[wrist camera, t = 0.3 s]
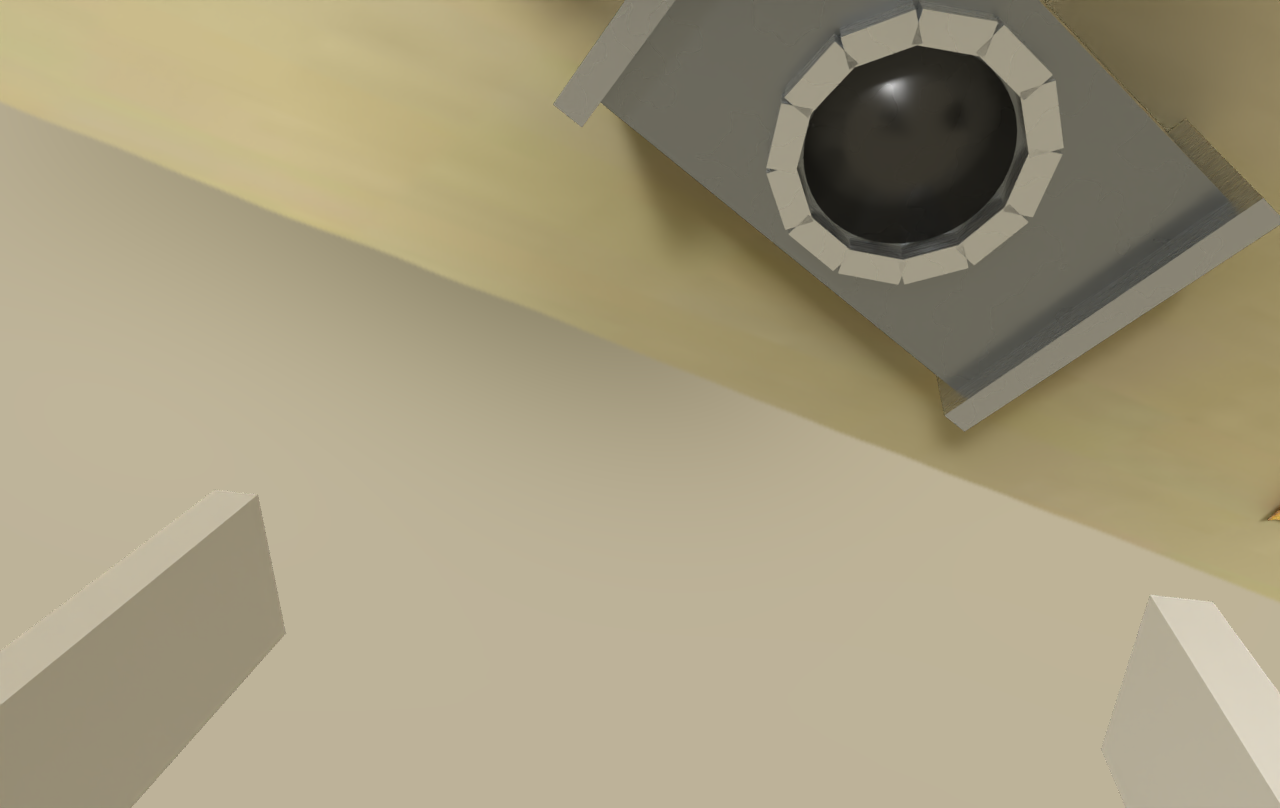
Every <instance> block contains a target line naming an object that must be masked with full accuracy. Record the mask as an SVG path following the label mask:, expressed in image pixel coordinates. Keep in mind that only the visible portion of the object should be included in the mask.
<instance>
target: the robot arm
mask: <svg viewBox="0 0 1280 808" xmlns="http://www.w3.org/2000/svg"><path fill="white" fill-rule="evenodd" d="M285 633H286V632H285V627H284V622H283V617H282V612H281V607H280V602H279V597H278V592H277V588H276V582H275V577H274V573H273V567H272V562H271V557H270V553H269V548H268V542H267V537H266V532H265V528H264V523H263V518H262V513H261V508H260V503H259V498H258V495H257V494H249V493H240V492H231V491H222V490H214V491H212V492H211V493H210V494H208V495H207V496H206V497H204V498H203V499H202V500H200V501H199V502H198V503H196V504H195V505H194V506H193V507H191V508H190V509H188V510H187V511H186V512H184V513H183V514H182V515H180V516H179V517H178V518H176V519H175V520H174V521H172V522H171V523H170V524H168V525H167V526H166V527H164V528H163V529H162V530H160V531H159V532H158V533H156V534H155V535H154V536H152V537H151V538H150V539H148V540H147V541H146V542H144V543H143V544H142V545H140V546H139V547H138V548H136V549H135V550H134V551H132V552H131V553H130V554H129V555H127V556H126V557H124V558H123V559H122V560H121V561H119V562H118V563H116V564H115V565H114V566H112V567H111V568H110V569H108V570H107V571H106V572H104V573H103V574H102V575H100V576H99V577H98V578H97V579H95V580H94V581H92V582H91V583H90V584H89V585H87V586H86V587H84V588H83V589H82V590H80V591H79V592H78V593H76V594H75V595H74V596H72V597H71V598H70V599H68V600H67V601H66V602H64V603H63V604H62V605H60V606H59V607H58V608H56V609H55V610H54V611H52V612H51V613H50V614H48V615H47V616H46V617H44V618H43V619H42V620H40V621H39V622H38V623H36V624H35V625H34V626H32V627H31V628H30V629H28V630H27V631H26V632H25V633H23V634H22V635H20V636H19V637H18V638H16V639H15V640H14V641H12V642H11V643H10V644H8V645H7V646H6V647H4V648H3V649H2V650H0V808H131V807H132V806H133V805H134V804H135V803H136V802H137V801H138V800H139V798H140V797H141V796H142V795H143V794H144V793H145V792H146V790H147V789H148V788H149V787H150V786H151V785H152V784H153V783H154V781H155V780H156V779H157V778H158V777H159V776H160V774H162V772H163V771H164V770H165V769H166V768H167V767H168V765H170V763H171V762H172V761H173V760H174V759H175V758H176V757H177V756H178V754H179V753H180V752H181V751H182V750H183V749H184V747H186V745H187V744H188V743H189V742H190V741H191V740H192V739H193V737H194V736H195V735H196V734H197V733H198V732H199V731H200V730H201V728H202V727H203V726H204V725H205V724H206V723H207V722H208V720H209V719H210V718H211V717H212V716H213V715H214V713H216V712H217V710H218V709H219V708H220V707H221V706H222V705H223V704H224V703H225V701H226V700H227V699H228V698H229V697H230V696H231V695H232V693H233V692H234V691H235V690H236V689H237V688H238V687H239V685H240V684H241V683H242V682H243V681H244V680H245V679H246V677H248V675H249V674H250V673H251V672H252V671H253V670H254V669H255V667H256V666H257V665H258V664H259V663H260V662H261V661H262V660H263V658H264V657H265V656H266V655H267V654H268V653H269V652H270V651H271V650H272V648H273V647H274V646H275V645H276V644H277V643H278V642H279V640H280V639H281V638H282V637H283V636H284V635H285ZM1101 750H1102V752H1103V755H1104V757H1105V760H1106V762H1107V764H1108V767H1109V769H1110V772H1111V774H1112V776H1113V779H1114V781H1115V784H1116V786H1117V788H1118V791H1119V793H1120V796H1121V798H1122V800H1123V803H1124V805H1125V808H1280V693H1279V692H1278V691H1277V689H1276V688H1275V686H1274V685H1273V684H1272V682H1271V681H1270V680H1269V678H1268V677H1267V675H1266V674H1265V673H1264V671H1263V670H1262V669H1261V667H1260V666H1259V664H1258V663H1257V662H1256V660H1255V659H1254V658H1253V656H1252V655H1251V653H1250V652H1249V651H1248V649H1247V648H1246V647H1245V645H1244V644H1243V642H1242V641H1241V640H1240V638H1239V637H1238V636H1237V634H1236V633H1235V631H1234V630H1233V629H1232V627H1231V626H1230V625H1229V623H1228V622H1227V620H1226V619H1225V618H1224V616H1223V615H1222V614H1221V612H1220V611H1219V609H1218V608H1217V607H1216V606H1215V604H1214V603H1213V602H1211V601H1202V600H1193V599H1184V598H1175V597H1166V596H1157V595H1150V596H1149V599H1148V602H1147V606H1146V609H1145V612H1144V615H1143V618H1142V621H1141V625H1140V628H1139V631H1138V634H1137V637H1136V641H1135V644H1134V647H1133V650H1132V653H1131V656H1130V659H1129V662H1128V666H1127V669H1126V672H1125V675H1124V678H1123V681H1122V685H1121V688H1120V691H1119V694H1118V697H1117V700H1116V703H1115V707H1114V710H1113V713H1112V716H1111V719H1110V723H1109V726H1108V729H1107V732H1106V735H1105V738H1104V741H1103V745H1102V748H1101Z"/></svg>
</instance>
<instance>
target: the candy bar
mask: <svg viewBox="0 0 1280 808" xmlns="http://www.w3.org/2000/svg"><path fill="white" fill-rule="evenodd" d="M1274 519H1276V520H1280V510H1279V511H1277V512H1276V513H1274V514H1273V515H1272V516H1271V517H1269V518H1268V521H1269V520H1274Z"/></svg>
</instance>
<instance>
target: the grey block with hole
mask: <svg viewBox="0 0 1280 808" xmlns="http://www.w3.org/2000/svg"><path fill="white" fill-rule="evenodd" d="M600 102H601V103H602V104H603V105H604V106H606V107H607V108H608V109H609V110H611V111H612V112H613V113H614V114H615V115H617V116H618V117H619V118H620V119H622V120H623V121H624V122H625V123H627V124H628V125H629V126H630V127H631V128H633V129H634V130H635V131H636V132H638V133H639V134H640V135H641V136H643V137H644V138H645V139H646V140H647V141H649V142H650V143H651V144H652V145H654V146H655V147H656V148H657V149H659V150H660V151H661V152H662V153H663V154H665V155H666V156H667V157H668V158H670V159H671V160H672V161H673V162H675V163H676V164H677V165H678V166H679V167H681V168H682V169H683V170H684V171H686V172H687V173H688V174H689V175H691V176H692V177H693V178H694V179H695V180H697V181H698V182H699V183H700V184H702V185H703V186H704V187H705V188H707V189H708V190H709V191H710V192H711V193H713V194H714V195H715V196H716V197H718V198H719V199H720V200H721V201H723V202H724V203H725V204H726V205H727V206H729V207H730V208H731V209H732V210H734V211H735V212H736V213H737V214H739V215H740V216H741V217H742V218H743V219H745V220H746V221H747V222H748V223H750V224H751V225H752V226H753V227H755V228H756V229H757V230H758V231H759V232H761V233H762V234H763V235H764V236H766V237H767V238H768V239H769V240H771V241H772V242H773V243H774V244H775V245H777V246H778V247H779V248H780V249H782V250H783V251H784V252H785V253H787V254H788V255H789V256H790V257H791V258H793V259H794V260H795V261H796V262H798V263H799V264H800V265H801V266H803V267H804V268H805V269H806V270H807V271H809V272H810V273H811V274H812V275H814V276H815V277H816V278H817V279H819V280H820V281H821V282H822V283H823V284H825V285H826V286H827V287H828V288H830V289H831V290H832V291H833V292H835V293H836V294H837V295H838V296H839V297H841V298H842V299H843V300H844V301H846V302H847V303H848V304H849V305H851V306H852V307H853V308H854V309H855V310H857V311H858V312H859V313H860V314H862V315H863V316H864V317H865V318H867V319H868V320H869V321H870V322H871V323H873V324H874V325H875V326H876V327H878V328H879V329H880V330H881V331H883V332H884V333H885V334H886V335H887V336H889V337H890V338H891V339H892V340H894V341H895V342H896V343H897V344H899V345H900V346H901V347H902V348H903V349H905V350H906V351H907V352H908V353H910V354H911V355H912V356H913V357H915V358H916V359H917V360H918V361H919V362H921V363H922V364H923V365H924V366H926V367H927V368H928V369H929V370H931V371H932V372H933V373H934V374H935V375H936V376H937V381H938V386H939V392H940V397H941V402H942V407H943V412H944V416H945V417H947V418H948V419H949V420H950V421H952V422H953V423H954V424H955V425H957V426H958V427H959V428H960V429H962V430H963V431H964V432H965V431H966V430H968V429H969V428H971V427H972V426H974V425H975V424H977V423H978V422H980V421H982V420H983V419H985V418H986V417H988V416H989V415H991V414H992V413H994V412H995V411H997V410H998V409H1000V408H1001V407H1003V406H1004V405H1006V404H1007V403H1009V402H1010V401H1012V400H1014V399H1015V398H1017V397H1018V396H1020V395H1021V394H1023V393H1024V392H1026V391H1027V390H1029V389H1030V388H1032V387H1033V386H1035V385H1036V384H1038V383H1039V382H1041V381H1042V380H1044V379H1046V378H1047V377H1049V376H1050V375H1052V374H1053V373H1055V372H1056V371H1058V370H1059V369H1061V368H1062V367H1064V366H1065V365H1067V364H1068V363H1070V362H1071V361H1073V360H1074V359H1076V358H1078V357H1079V356H1081V355H1082V354H1084V353H1085V352H1087V351H1088V350H1090V349H1091V348H1093V347H1094V346H1096V345H1097V344H1099V343H1100V342H1102V341H1103V340H1105V339H1106V338H1108V337H1110V336H1111V335H1113V334H1114V333H1116V332H1117V331H1119V330H1120V329H1122V328H1123V327H1125V326H1126V325H1128V324H1129V323H1131V322H1132V321H1134V320H1135V319H1137V318H1138V317H1140V316H1142V315H1143V314H1145V313H1146V312H1148V311H1149V310H1151V309H1152V308H1154V307H1155V306H1157V305H1158V304H1160V303H1161V302H1163V301H1164V300H1166V299H1167V298H1169V297H1170V296H1172V295H1174V294H1175V293H1177V292H1178V291H1180V290H1181V289H1183V288H1184V287H1186V286H1187V285H1189V284H1190V283H1192V282H1193V281H1195V280H1196V279H1198V278H1199V277H1201V276H1203V275H1204V274H1206V273H1207V272H1209V271H1210V270H1212V269H1213V268H1215V267H1216V266H1218V265H1219V264H1221V263H1222V262H1224V261H1225V260H1227V259H1228V258H1230V257H1231V256H1233V255H1235V254H1236V253H1238V252H1239V251H1241V250H1242V249H1244V248H1245V247H1247V246H1248V245H1250V244H1251V243H1253V242H1254V241H1256V240H1257V239H1259V238H1260V237H1262V236H1263V235H1265V234H1267V233H1268V232H1270V231H1271V230H1273V229H1274V228H1276V227H1277V226H1279V225H1280V216H1279V214H1278V213H1277V212H1276V211H1275V210H1274V209H1273V208H1272V207H1271V206H1270V205H1269V204H1268V203H1267V202H1266V200H1265V199H1264V198H1263V197H1262V196H1261V195H1260V194H1259V193H1258V192H1257V191H1256V190H1255V189H1254V188H1253V187H1252V186H1251V185H1250V184H1249V183H1248V182H1247V181H1246V180H1245V179H1244V178H1243V177H1242V176H1241V175H1240V174H1239V173H1238V172H1237V171H1236V170H1235V169H1234V168H1233V167H1232V166H1231V165H1230V164H1229V163H1228V162H1227V161H1226V160H1225V159H1224V158H1223V157H1222V156H1221V154H1220V153H1219V152H1218V151H1217V150H1216V149H1215V148H1214V147H1213V146H1212V145H1211V144H1210V143H1209V142H1208V141H1207V140H1206V139H1205V138H1204V137H1203V136H1202V135H1201V134H1200V133H1199V132H1198V131H1197V130H1196V129H1195V128H1194V127H1193V126H1192V125H1191V124H1190V123H1189V122H1188V121H1187V120H1186V119H1184V120H1183V121H1182V122H1180V123H1179V124H1178V125H1177V126H1175V127H1174V128H1173V129H1171V130H1170V131H1169V132H1167V131H1166V130H1165V129H1164V128H1163V127H1162V126H1161V125H1160V124H1159V123H1158V122H1157V121H1156V120H1155V119H1154V118H1153V117H1152V116H1151V115H1150V113H1149V112H1148V111H1147V110H1146V109H1145V108H1144V107H1143V106H1142V105H1141V104H1140V103H1139V102H1138V101H1137V100H1136V99H1135V98H1134V97H1133V96H1132V94H1131V93H1130V92H1129V91H1128V90H1127V89H1126V88H1125V87H1124V86H1123V85H1122V84H1121V83H1120V82H1119V81H1118V80H1117V79H1116V78H1115V77H1114V75H1113V74H1112V73H1111V72H1110V71H1109V70H1108V69H1107V68H1106V67H1105V66H1104V65H1103V64H1102V63H1101V62H1100V61H1099V60H1098V59H1097V58H1096V56H1095V55H1094V54H1093V53H1092V52H1091V51H1090V50H1089V49H1088V48H1087V47H1086V46H1085V45H1084V44H1083V43H1082V42H1081V41H1080V40H1079V39H1078V37H1077V36H1076V35H1075V34H1074V33H1073V32H1072V31H1071V30H1070V29H1069V28H1068V27H1067V26H1066V25H1065V24H1064V23H1063V22H1062V21H1061V20H1060V18H1059V17H1058V16H1057V15H1056V14H1055V13H1054V12H1053V11H1052V10H1051V9H1050V8H1049V7H1048V6H1047V5H1046V4H1045V3H1044V2H1043V1H1042V0H625V1H624V3H623V4H622V6H621V7H620V9H619V10H618V11H617V13H616V14H615V16H614V17H613V19H612V20H611V22H610V23H609V24H608V26H607V27H606V29H605V30H604V32H603V33H602V35H601V36H600V37H599V39H598V40H597V42H596V43H595V45H594V46H593V47H592V49H591V50H590V52H589V53H588V55H587V56H586V58H585V59H584V60H583V62H582V63H581V65H580V66H579V68H578V69H577V71H576V72H575V73H574V75H573V76H572V78H571V79H570V81H569V82H568V83H567V85H566V86H565V88H564V89H563V91H562V92H561V94H560V95H559V96H558V98H557V99H556V101H555V102H554V104H553V105H554V106H556V107H557V108H558V109H559V110H561V111H562V112H563V113H564V114H566V115H567V116H568V117H570V118H571V119H572V120H573V121H575V122H576V123H577V124H578V125H580V126H581V127H583V125H584V124H585V122H586V121H587V120H588V118H589V117H590V116H591V114H592V113H593V112H594V110H595V109H596V108H597V106H598V105H599V103H600Z"/></svg>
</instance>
